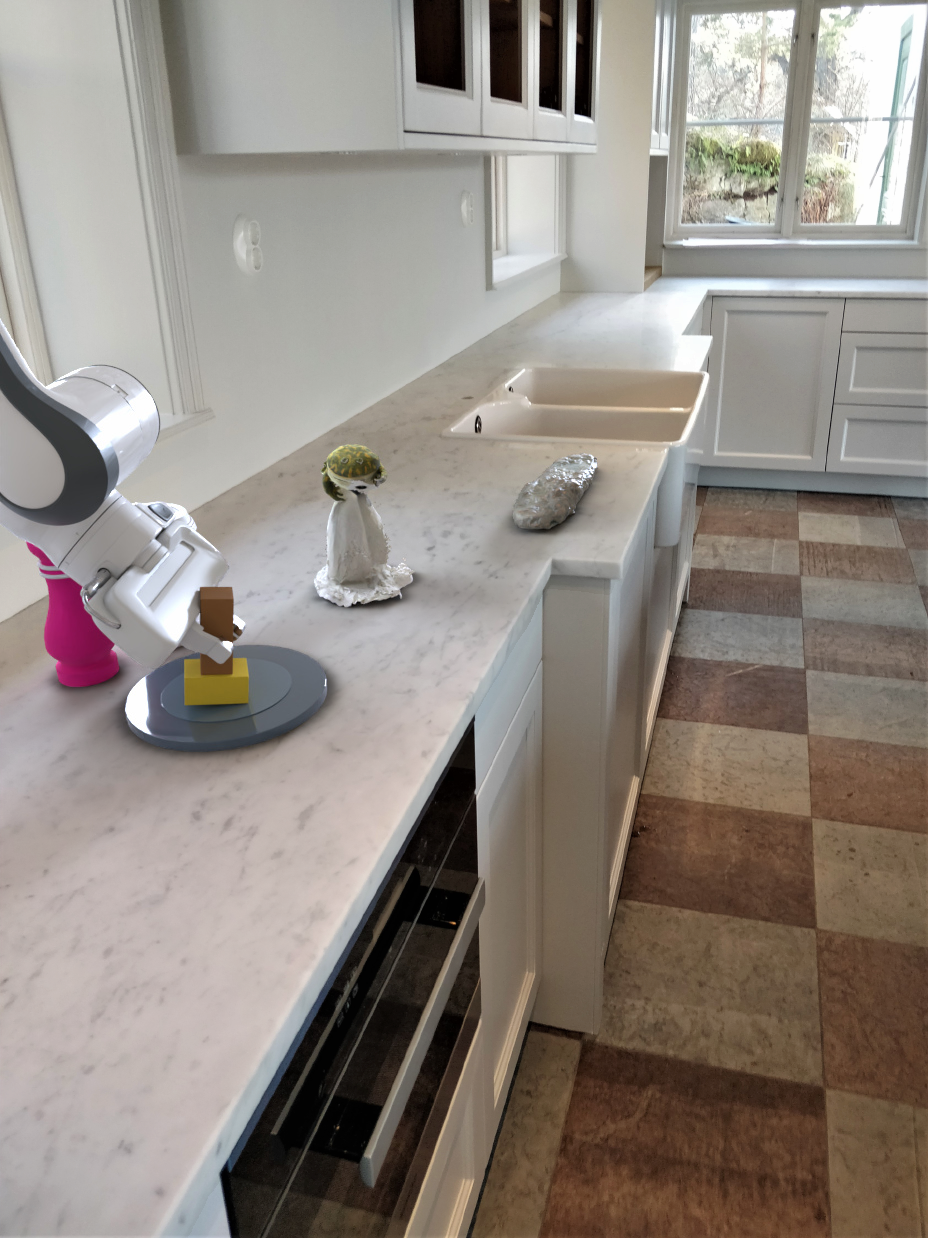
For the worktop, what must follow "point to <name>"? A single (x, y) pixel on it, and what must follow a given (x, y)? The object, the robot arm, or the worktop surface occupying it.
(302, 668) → the plate
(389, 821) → the worktop surface
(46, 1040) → the worktop surface
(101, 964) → the worktop surface
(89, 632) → the pepper mill
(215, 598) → the sponge brush
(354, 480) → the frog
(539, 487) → the elongated rock
